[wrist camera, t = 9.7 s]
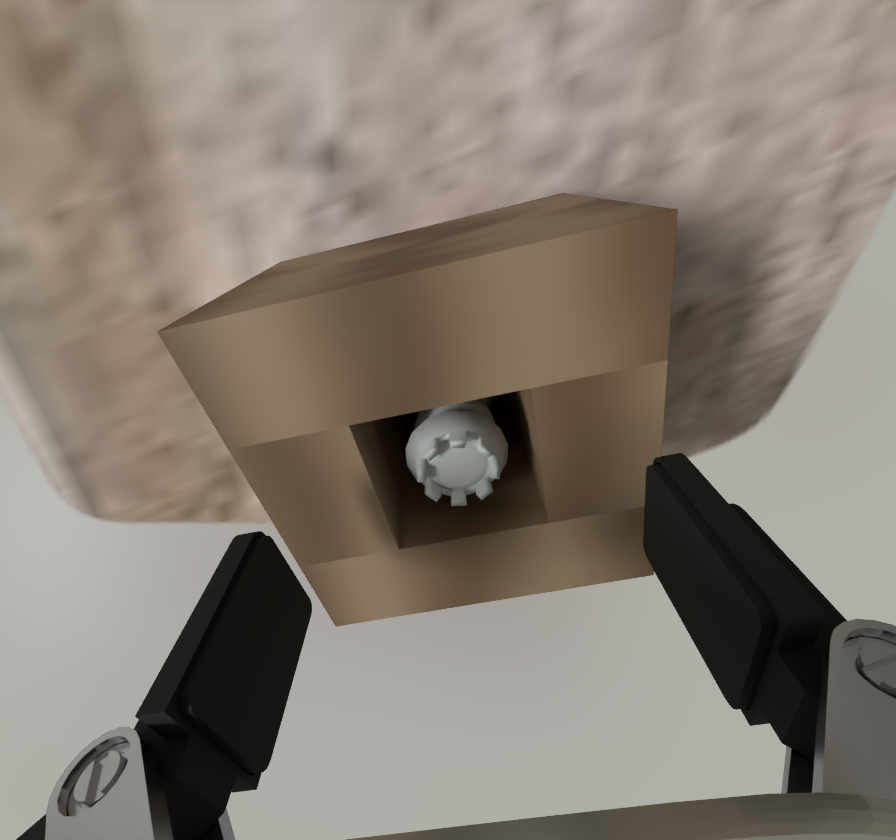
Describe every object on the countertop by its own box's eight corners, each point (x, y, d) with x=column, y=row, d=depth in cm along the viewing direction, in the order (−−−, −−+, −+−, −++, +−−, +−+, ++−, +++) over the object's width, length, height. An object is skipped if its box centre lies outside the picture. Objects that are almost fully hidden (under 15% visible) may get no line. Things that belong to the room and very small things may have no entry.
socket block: (562, 193, 16) (677, 209, 9) (578, 437, 22) (653, 574, 15) (279, 262, 17) (156, 331, 10) (368, 477, 23) (335, 626, 16)
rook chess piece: (407, 311, 18) (390, 398, 11) (508, 327, 18) (553, 420, 11) (396, 401, 20) (376, 521, 13) (486, 413, 20) (512, 535, 14)
